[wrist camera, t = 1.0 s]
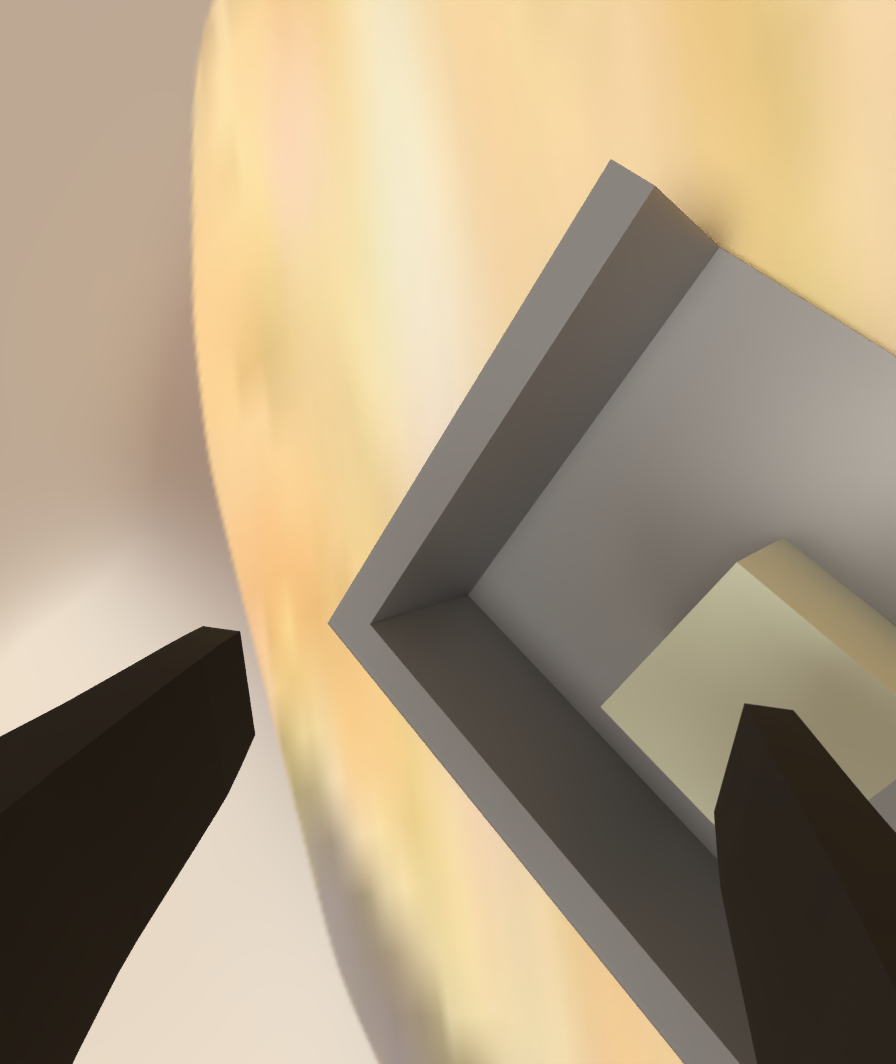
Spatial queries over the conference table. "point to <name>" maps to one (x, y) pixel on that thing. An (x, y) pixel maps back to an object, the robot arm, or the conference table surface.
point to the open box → (622, 566)
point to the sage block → (767, 675)
